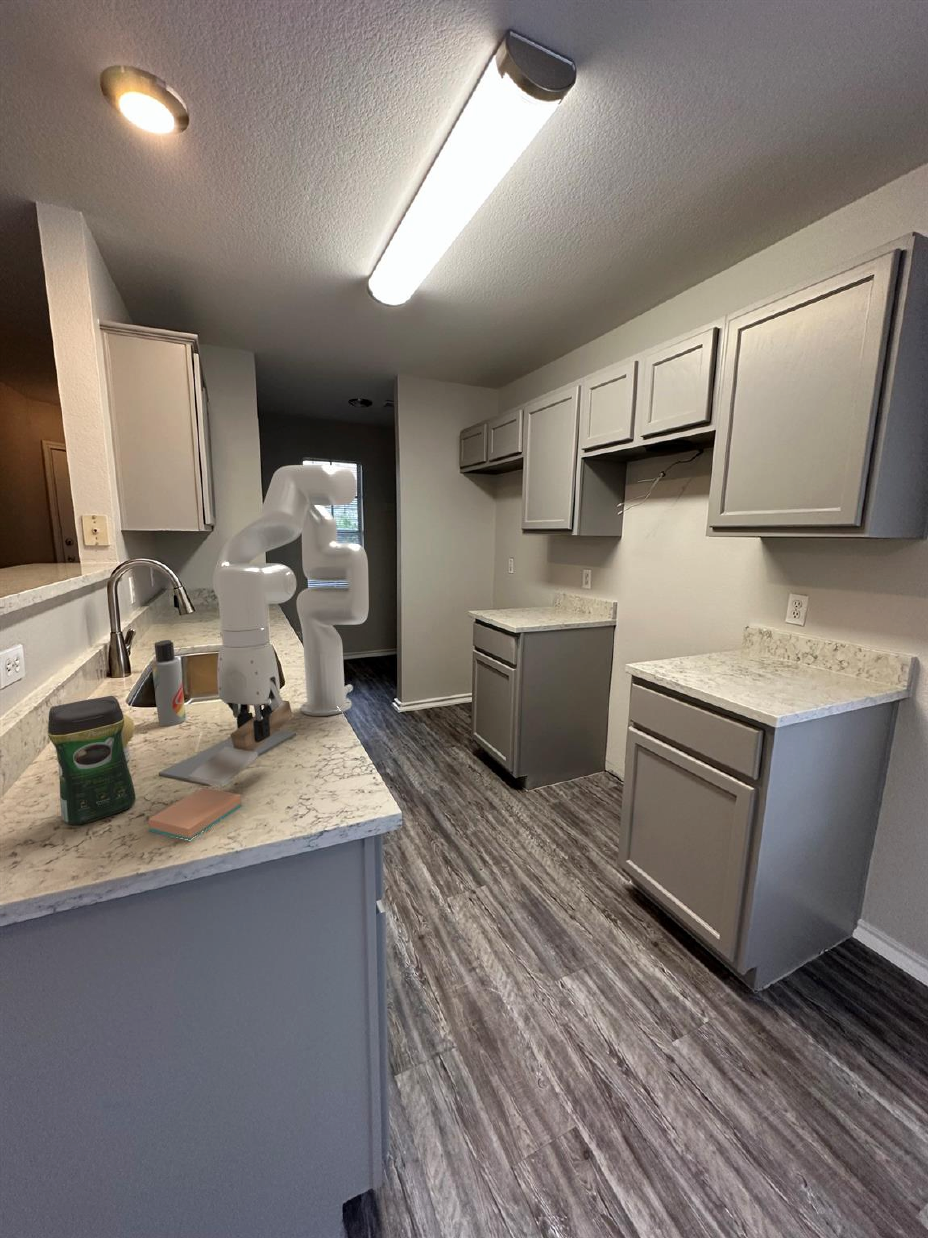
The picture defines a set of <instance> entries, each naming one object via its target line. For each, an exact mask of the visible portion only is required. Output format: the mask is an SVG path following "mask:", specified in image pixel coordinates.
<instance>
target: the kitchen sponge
mask: <svg viewBox="0 0 928 1238" xmlns="http://www.w3.org/2000/svg"><path fill="white" fill-rule="evenodd" d="M242 807H243V800H242V795H241V794H239V793H234V792H229V791H223V790H219V789H213V788H209V787H204V786H203V787H201V788H200V789H198V790H195V791H194V792H193V793H191V794H190V795H188V796H186V797H184V798H183V799H180V801H179V800H178V801H177V802H175V803H174V804H172V805H171V806H169V807H167V808H165V809H163V810H162V811H160V812H158V813H157V814H155V815H154V816H152V817H150V818H148V828H149V832H152V833H156V834H160V835H164V836H168V837H171V836H173V837H172V838H175V837H178V838H177V839H179V838H183V839H188V840H191V839H192V838H193V837H195V836H197V835H199V834H200V833H201V832H202V831H205V830H206V829H207V830H209V829H210V828H212V827H213V826H214V825H213V824H215V823H216V824H218V823H219V822H221V821H222V820H223V819H225V818H227V817H228V816H229V815H231V814H232V813H234V812H235V811H237V810H239V809H240V808H242ZM221 819H222V820H221ZM220 820H221V821H220ZM217 822H218V823H217ZM216 824H215V825H216ZM212 825H213V826H212ZM211 826H212V827H211ZM209 827H210V828H209ZM208 828H209V829H208ZM207 830H206V831H207ZM206 831H205V832H206ZM200 835H201V834H200ZM200 835H199V836H200ZM197 837H198V836H197ZM183 839H182V840H183ZM191 841H192V840H191Z"/></svg>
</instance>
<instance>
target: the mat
mask: <svg viewBox="0 0 928 1238" xmlns="http://www.w3.org/2000/svg"><path fill="white" fill-rule="evenodd" d="M296 735H297V732H296V731H287V730H283V729H282V730H281V729H278V730H277V731H276V732H275V733H274V734H272V735H271V736H270V737H269V738H268V739H267V740H265V741H264V742H263V743H262V744H261V745H260V746H258V747H257V748H256V749H255V750H254V751H253V752H257V753H258V757H260V756H262V755H264V754H265V753H267V752H268V751H271V750H272V749H274V748H276V747H278V746H279V745H281V744H282V743H285V742H286V741H287V740H290V739H291V737H292V738H293V737H295V736H296ZM224 747H230V748H234V745H233V742H232V739H231V737H229V738H227V739H224V740H222V741H221V742H218V743H217V744H214V745H212V746H210V747H208V748H207V749H204V750H203V751H200V752H198V753H196V754H194V755H192V756H190V757H188V758H186V759H183V760H181V761H180V762H177V763H175V764H173V765H171V766H170V767H167V768H165V769H163V770H161V771H159V772H158V775H159V776H163V777H167V778H172V779H177V780H182V781H186V782H190V783H195V784H202V785H205V786H209V785H210V784H206V783H202V782H197V781H192V780H189V777H188V776H189V775H190V774H191V773H193V772H194V771H195V770H196V769H198V768H199V767H200V766H201V765H203V764H204V763H205V762H207V761H208V760H209V759H210V758H212V757H213V756H214V755H216V754H217V753H218V752H219V751H221V750H222V749H223V748H224Z"/></svg>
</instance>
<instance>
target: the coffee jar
mask: <svg viewBox="0 0 928 1238" xmlns="http://www.w3.org/2000/svg"><path fill="white" fill-rule="evenodd" d="M123 715H124V712H123V710H122V708H121V705H120V702H119V700H118V699H117V698H116V697H115V696H114V695H107V696H102V697H96V698H90V699H84V700H80V701H74V702H73V701H72V702H69V703H65V704H64V703H63V704H59V705H54V706H51V708H50V709H49V712H48V724H47V726H48V727H47V728H48V729H47V735H48V738H49V741H50V742H51V744H52V745H53V746H54V748H55V751H56V755H57V756H56V758H57V762H58V763H57V764H58V775H59V776H58V777H59V780H58V781H59V801H60V803H59V805H60V813H61V817H62V820H63V821H64V823H66V824H69V825H76V826H77V825H82V824H86V823H90V822H94V821H97V820H100V819H102V818H103V819H104V818H105V817H109V816H112V815H114V814H115V815H116V814H117V813H120V812H122V811H125V810H127V809H128V808H130V807H131V806H132V805H133V804H134V803H135V801H136V792H135V787H134V786H135V785H134V782H133V778H132V776H131V771H130V768H129V765H128V762H127V761H126V757H125V753H124V748H123V742H122V729H123V726H124V716H123Z"/></svg>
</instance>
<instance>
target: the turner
mask: <svg viewBox="0 0 928 1238" xmlns="http://www.w3.org/2000/svg"><path fill="white" fill-rule="evenodd" d="M282 700H283V699H282ZM283 702H284V704H283V706H281V707H279V708H277V709H275V710H274V711H273V712H272V715H271V716H269V724H270V736H271V735H272V734H274V733H275V732H276V731H277V730H281V728H282V727H283V726H284V725H285V724H286V723H289V721H290V720H291V719H293V718H294V716H293V712H292V707H291V704H290V701H289V700H285V699H284V700H283ZM255 720H256V717H255V715H253V718H252V719H251V720H249V721H248V722H247V723H245V724H244V725H243V726H241V727H240V728H238V729H236V730H235V731H233V732H232V733H230V738H231V739H232V742H233V745H234V748H230V747H224V748H223V749H222V750H221V751H219V752H218V753H217V754H216V755H214V756H213V757H212V758H210V759H209V760H208V761H207V762H205V763H204V764H203V765H201V766H200V767H199V768H198V769H196V770H195V771H194V772H193V773H191V774H190V775H189V776H188V777H189V780H192V781H197V782H202V783H206V784H209V785H211V786H212V785H213V786H217V787H221V788H224V786H226V785H227V784H229V782H230V781H232V779H234V778H235V777H236V776H238V774H239V773H241V772H242V771H243V770H244V769H245V768H247V766H249V765H250V764H251V763H253V761H254V760H256V759H257V758H258V757H259V756H258V753H257V752H253V751H254V750H255V749H256V748H257V747H258V746H260V745H261V744H262V743H263V742H264V741H265V740H267V739H268V738H269V737H270V736H269V737H268V738H266V739H264V740H262V741H260V742H255V734H254V726H253V722H254V721H255Z"/></svg>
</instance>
